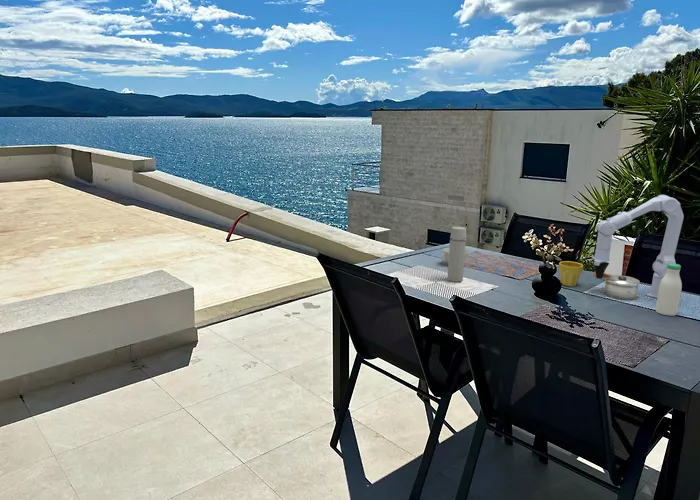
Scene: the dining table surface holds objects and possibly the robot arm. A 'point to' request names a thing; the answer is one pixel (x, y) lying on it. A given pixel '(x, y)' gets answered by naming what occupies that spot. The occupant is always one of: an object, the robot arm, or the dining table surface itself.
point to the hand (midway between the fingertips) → (599, 278)
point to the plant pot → (570, 272)
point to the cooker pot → (620, 291)
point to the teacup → (446, 255)
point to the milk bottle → (669, 291)
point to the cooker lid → (620, 280)
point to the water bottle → (456, 254)
